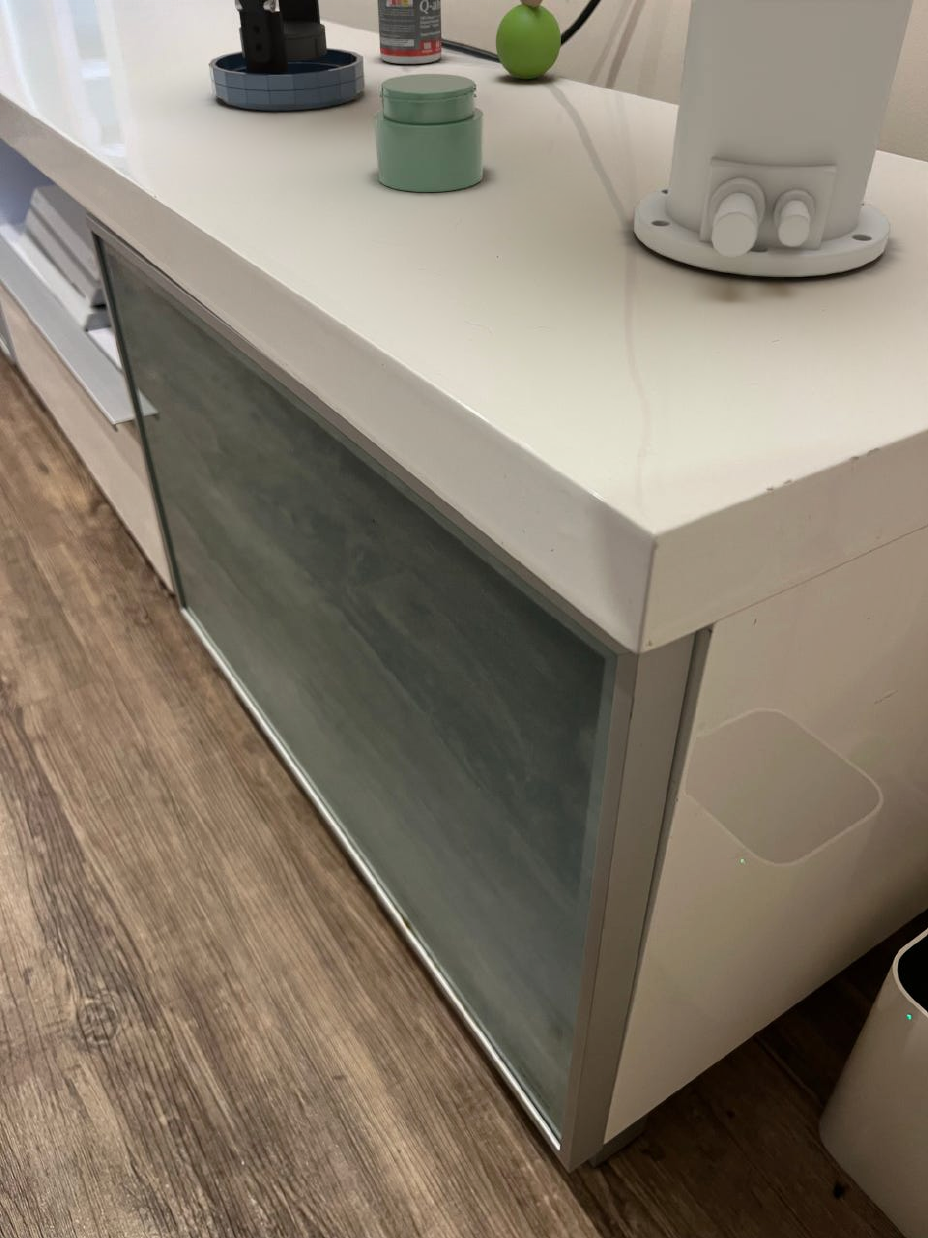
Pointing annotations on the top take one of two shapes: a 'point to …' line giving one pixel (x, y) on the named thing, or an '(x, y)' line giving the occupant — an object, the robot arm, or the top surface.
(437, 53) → the pill bottle
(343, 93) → the dish
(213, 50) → the top surface
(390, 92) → the jar
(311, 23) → the lid
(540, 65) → the green apple
